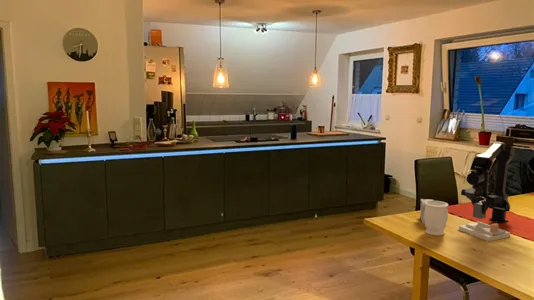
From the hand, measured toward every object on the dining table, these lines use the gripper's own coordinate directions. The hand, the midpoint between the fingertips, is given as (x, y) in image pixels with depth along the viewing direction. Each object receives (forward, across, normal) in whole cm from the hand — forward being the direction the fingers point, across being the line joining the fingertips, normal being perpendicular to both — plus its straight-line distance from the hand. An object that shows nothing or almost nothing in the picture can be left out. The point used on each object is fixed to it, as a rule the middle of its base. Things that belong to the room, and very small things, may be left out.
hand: (479, 212), depth 201 cm
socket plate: (+9, +3, 0) cm, 10 cm away
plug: (+2, 0, 0) cm, 2 cm away
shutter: (+7, +8, 0) cm, 11 cm away
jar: (+10, -7, -21) cm, 24 cm away
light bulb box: (+10, -22, -11) cm, 26 cm away
